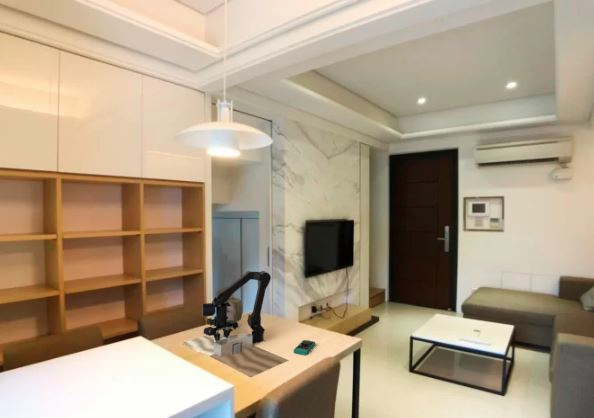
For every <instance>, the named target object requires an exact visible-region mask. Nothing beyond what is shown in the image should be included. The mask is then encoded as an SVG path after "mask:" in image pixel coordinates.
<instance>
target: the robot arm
mask: <svg viewBox="0 0 594 418" xmlns="http://www.w3.org/2000/svg"><path fill="white" fill-rule="evenodd" d="M250 280H255V281H257V290H256V296H255V300H254V303H253V304H254V305H253V308H252V309H253V310H252V312H251V313H250V314H249V313H248V314H247V316H248V317H247V320H246V322H247V325H248V326H249V328H250V329H251V335H252V344H256V343H257V344H258V343H262V342H265V340H264V339H265V338H264V337H265V336H264V333H265V330H266V329H265V328H264V326H263V325H261V324H262V318H261V313H262V308H263V304H264V300H265V299H264V298H265V294H266V291H267V290H266V289H267V288H268V286H269V284H270V282H271V280H272V277H271V274H270V273H269V272H267V271H265V270H261V271H251V270H248V271H246V272H245V273H244V274H242V276H241V275H240V277H239V278H237V279H236V280H235V281H234V282H232V283H231V284H229V285H228V286H226V287H223V288H221V289H220V290H218V291H216V293H215V297H214V298H213V300H211V302H207V303H206V302H202V303H201V305H202V306H201V317H202V318H204V317H210V318H207V319H206V325H208V326H207V327H204V329H203V334H204V335H205V336H206V335H208V336H212V335H213V336H214V338H215V341H219V340H220V333H219V332H220V331H221V330H222V331H223V337H226V338H228V336H229V335H230V334H231V332H233V331H234V330H236V329H237V328H239V323H238V321H237V322H235V321H228V322H227V319H228V316H227V306H231V305H230V303H228V301H227V300H228V299H229V298H230V297H231V296H232V295H234V294H235V293H234V292H236V291H238V290H239V289H240V288H242V287H243V286H244V285H245V284H247V283H248V282H249V281H250ZM214 315H215V316H214ZM212 316H214V318H213V319H212V318H211V317H212ZM235 328H236V329H235ZM233 329H234V330H233Z"/></svg>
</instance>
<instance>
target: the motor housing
mask: <svg viewBox="0 0 594 418" xmlns="http://www.w3.org/2000/svg"><path fill="white" fill-rule="evenodd" d="M231 336H232V337H229V338H226V339H222V340H219V341H216V342H214V356H216V357H218V358H220V359H222V358H224V357H227V356H230V355H232V348H233V344H236V343H239V344H241V351H243V350H246V349H249V348H252V345H253V343H252V333H248V332H241V333H239V334H238V333H237V334H235V335H231Z"/></svg>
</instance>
